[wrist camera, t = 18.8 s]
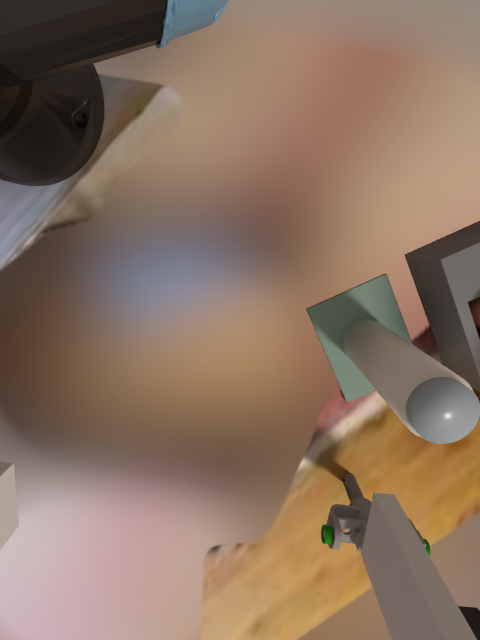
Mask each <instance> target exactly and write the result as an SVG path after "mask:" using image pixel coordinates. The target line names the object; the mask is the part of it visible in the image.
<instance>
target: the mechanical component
mask: <svg viewBox="0 0 480 640" xmlns="http://www.w3.org/2000/svg"><path fill="white" fill-rule="evenodd" d="M344 479H345V482H344V481H343V484H344V486H345V489H346V491H347V494H348V497H349V499H350V502H351V503H350V505H349V506H347V505H340V504H335V505H333V506H332V507H331V509H330V513H329V517H328V521H327V524H326V525H323V526H322V530H321V538H322V542H323V543H324V544H328V545H329V547H330V548H331V549H339V547H340V544H341V542H345V543H352V544H356V547H357V550H358V551H362V546H363V542H364V537H365V532H366V527H367V522H368V517H369V512H370V508H371V502H370V501H369V500H368V499H366V498H364V497H363V495H362V492H361V490H360V488H359V486H358V483H357V481H356V479H355V477H354V475H352V474H345V476H344ZM408 519H409V518H408ZM409 521H410V523H411V525H412V526H413V528H414V530H415V532H416V533H417V535H418V537H419V539H420V540H421V542H422V544H423V546H424V547H425V549H426V551H427V553H428V554H429V556H430V546H429V543H428V541H427V540H426V539H423V538H422V536H421V535H420V533H419V531H418V530H416V528H415V526H414V525H413V523H412V522H411V520H410V519H409ZM344 529H346V530H350V531H349V532H347V533H345V532H343V530H344Z"/></svg>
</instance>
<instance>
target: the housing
mask: <svg viewBox="0 0 480 640" xmlns="http://www.w3.org/2000/svg"><path fill="white" fill-rule="evenodd" d="M405 257H406V260H407V263H408V266H409V268H410V271H411V274H412V277H413V280H414V283H415V285H416V288H417V291H418V294H419V296H420V299H421V302H422V305H423V308H424V311H425V314H426V316H427V319H428V322H429V325H430V328H431V330H432V333H433V336H434V339H435V342H436V345H437V347H438V350H439V353H440V356H441V359H442V361H443V364H444V366H445V367H447V368H448V369H449V370H451V371H452V372H454V373H455V374H457V375H458V376H460V377H461V378H463V379H464V380H465V381H467V382H468V383H469V385H470V386H471V387H472V388H474V389H475V390H477V391H478V392H480V328H477V327H475V324H474V320H473V317H472V314H471V311H470V308H469V305H468V302H469V301H471V300H473V299H476V298H478V297H480V221H479V222H476V223H474V224H472V225H470V226H467V227H465V228H463V229H461V230H459V231H456V232H454V233H452V234H450V235H447V236H445V237H443V238H441V239H438V240H436V241H434V242H432V243H430V244H427V245H425V246H423V247H421V248H418V249H416V250H414V251H412V252H410V253H407V254H405Z"/></svg>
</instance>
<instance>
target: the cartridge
mask: <svg viewBox="0 0 480 640" xmlns="http://www.w3.org/2000/svg"><path fill="white" fill-rule="evenodd" d="M343 349H344V351H345V353H346V355H347V356H348V357H349V358H350V359H351V361H352V362H353V363H354V364H355V365H356V367H357V368H358V369H359V370H360V371H361V373H362V374H363V375H364V376H365V377H366V379H367V380H368V381H369V382H370V384H371V385H372V386H373V387H374V388H375V390H376V391H377V392H378V393H379V394H380V396H381V397H382V398H383V399H384V400H385V402H386V403H387V404H388V405H389V406H390V408H391V409H392V410H393V411H394V412H395V414H396V415H397V416H398V417H399V418H400V420H401V421H402V422H403V423H404V424H405V426H406V427H407V428H408V429H409V430H410V431H411V432H412V433H414V434H415V435H417V436H419V437H422V438H424V439H425V440H427V441H429V442H432V443H437V444H447V443H452V442H455V441H458V440H460V439H462V438H463V437H465V436H466V435H468V434H469V433H470V432H471V431H472V430H473V428H474V427H475V426H476V424H477V422H478V420H479V417H480V403H479V400H478V398H477V396H476V394H475V393H474V392H473V389H472V388H471V386H470V385H469V383H468V382H467V381H465V380H464V379H463V378H461V377H460V376H458V375H457V374H455V373H454V372H452V371H451V370H449V369H448V368H447V367H445V366H444V365H442V364H441V363H439V362H438V361H436V360H435V359H433V358H432V357H430V356H429V355H427V354H426V353H424V352H423V351H421V350H420V349H418V348H417V347H415V346H414V345H412V344H411V343H409V342H408V341H406V340H405V339H403V338H402V337H400V336H399V335H397V334H396V333H394V332H393V331H391V330H390V329H388V328H387V327H385V326H384V325H382V324H381V323H379V322H377V321H375V320H371V319H363V320H359V321H357V322H355V323H353V324H352V325H351V326H350V327H349V328H348V329H347V330H346V332H345V334H344V336H343Z"/></svg>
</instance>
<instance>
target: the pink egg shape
mask: <svg viewBox="0 0 480 640" xmlns="http://www.w3.org/2000/svg"><path fill="white" fill-rule="evenodd" d="M468 305H469V308H470V311H471V314H472V317H473V320H474V324H475V327H477V328H480V297H478V298H476V299H473V300H471V301H469V302H468Z"/></svg>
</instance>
